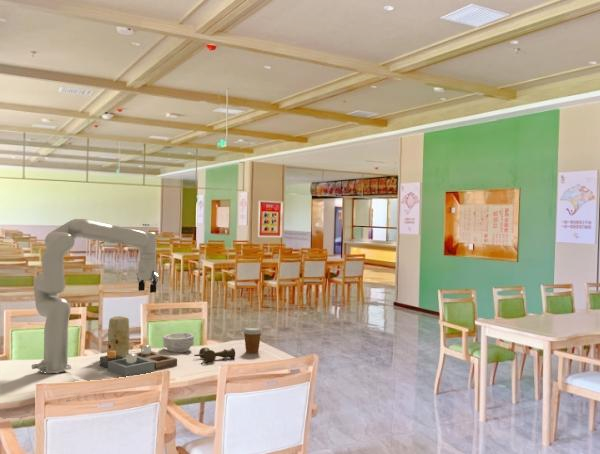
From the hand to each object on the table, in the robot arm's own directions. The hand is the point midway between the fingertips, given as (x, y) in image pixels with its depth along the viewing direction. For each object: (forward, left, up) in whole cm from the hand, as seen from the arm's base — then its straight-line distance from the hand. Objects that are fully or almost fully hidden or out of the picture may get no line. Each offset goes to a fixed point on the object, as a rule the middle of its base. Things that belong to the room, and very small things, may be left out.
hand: (147, 291), depth 271 cm
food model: (-15, 0, -31) cm, 34 cm away
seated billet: (-10, -15, -30) cm, 35 cm away
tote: (-24, -26, -31) cm, 47 cm away
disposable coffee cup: (+41, -33, -31) cm, 61 cm away
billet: (-24, -26, -30) cm, 46 cm away
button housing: (-26, -13, -31) cm, 42 cm away
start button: (-26, -13, -28) cm, 40 cm away
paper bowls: (+15, -6, -31) cm, 35 cm away
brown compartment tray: (-10, -21, -31) cm, 38 cm away
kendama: (+17, -32, -32) cm, 48 cm away
